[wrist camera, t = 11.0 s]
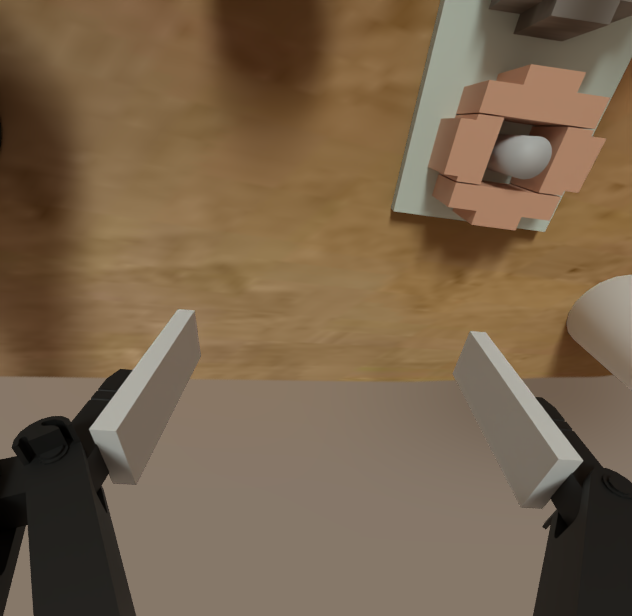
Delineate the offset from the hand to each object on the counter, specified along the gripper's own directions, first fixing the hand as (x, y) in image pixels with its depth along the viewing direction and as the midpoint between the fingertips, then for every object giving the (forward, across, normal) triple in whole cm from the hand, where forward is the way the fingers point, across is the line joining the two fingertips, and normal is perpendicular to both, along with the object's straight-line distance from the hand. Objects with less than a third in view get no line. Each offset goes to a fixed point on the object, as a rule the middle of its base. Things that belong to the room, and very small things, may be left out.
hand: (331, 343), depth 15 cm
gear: (+21, +15, +8) cm, 27 cm away
